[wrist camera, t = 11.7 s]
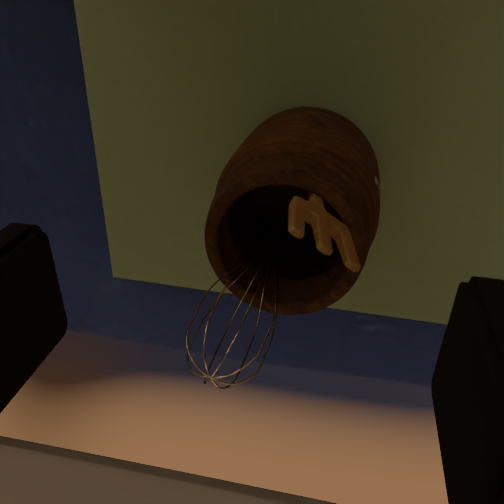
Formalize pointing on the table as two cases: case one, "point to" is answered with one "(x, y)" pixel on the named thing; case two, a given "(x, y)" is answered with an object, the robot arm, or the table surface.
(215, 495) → the robot arm
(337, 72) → the desk mat
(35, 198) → the table surface
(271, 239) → the utensil holder
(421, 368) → the table surface
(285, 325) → the table surface
